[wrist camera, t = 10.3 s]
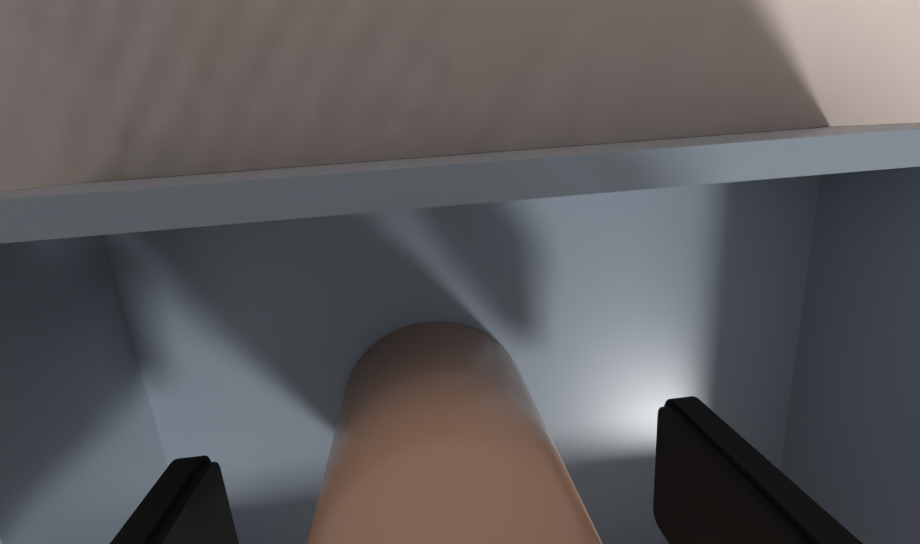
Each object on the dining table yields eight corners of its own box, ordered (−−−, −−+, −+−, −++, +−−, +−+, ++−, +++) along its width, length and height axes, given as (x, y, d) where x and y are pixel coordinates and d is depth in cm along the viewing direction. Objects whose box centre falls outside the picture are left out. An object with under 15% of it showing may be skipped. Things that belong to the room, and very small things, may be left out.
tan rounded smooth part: (331, 331, 12) (235, 574, 5) (521, 312, 12) (656, 515, 6) (355, 491, 13) (303, 844, 7) (525, 470, 14) (637, 780, 7)
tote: (199, 611, 15) (94, 840, 10) (75, 183, 11) (-185, 213, 6) (776, 526, 16) (932, 689, 11) (832, 126, 12) (1095, 115, 8)
